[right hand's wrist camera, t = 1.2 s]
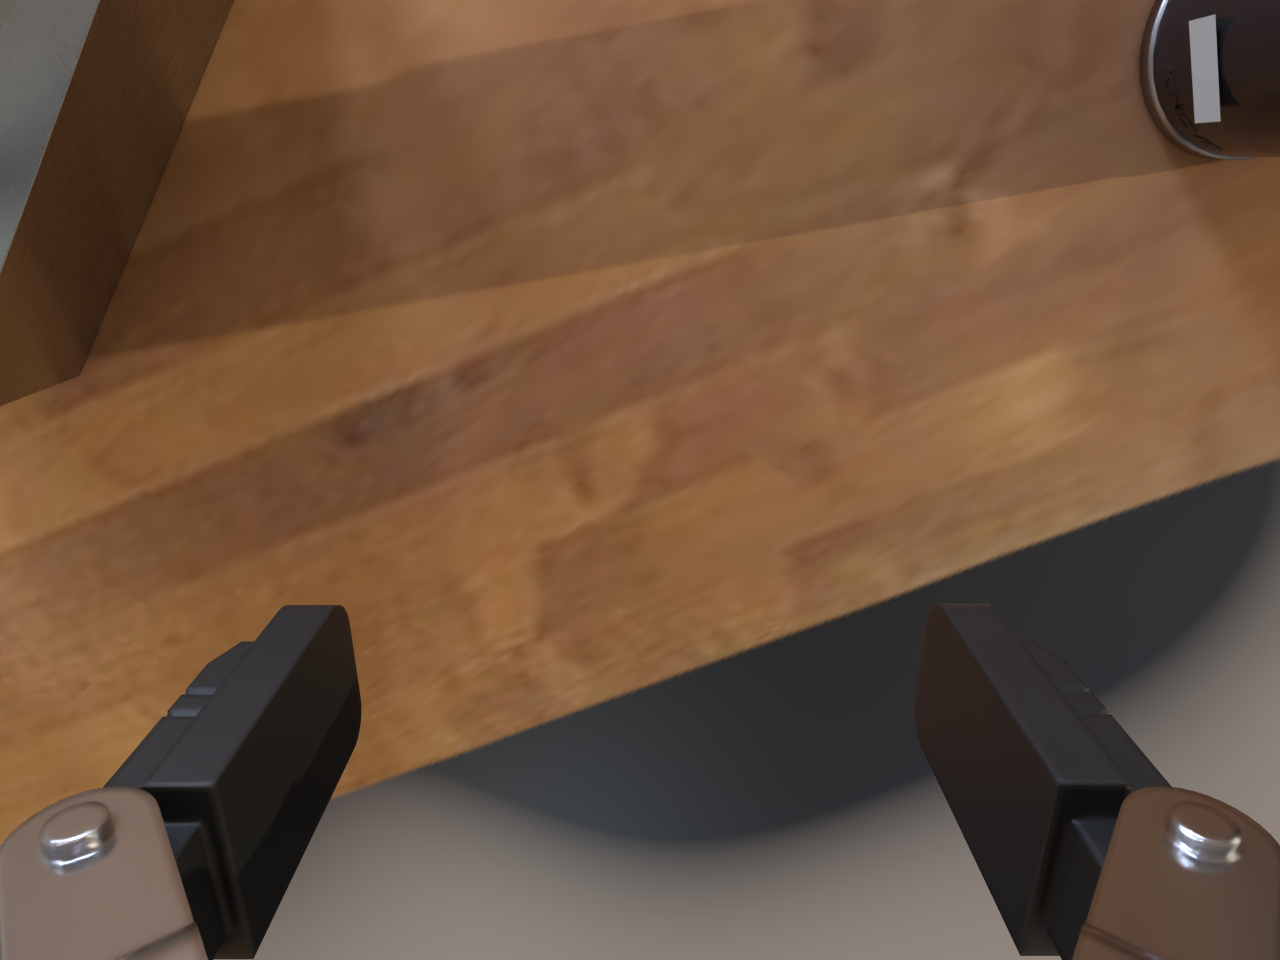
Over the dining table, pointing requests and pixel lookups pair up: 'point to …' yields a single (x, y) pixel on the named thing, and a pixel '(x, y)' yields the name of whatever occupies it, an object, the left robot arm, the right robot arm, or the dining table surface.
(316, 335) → the dining table surface
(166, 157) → the bar
